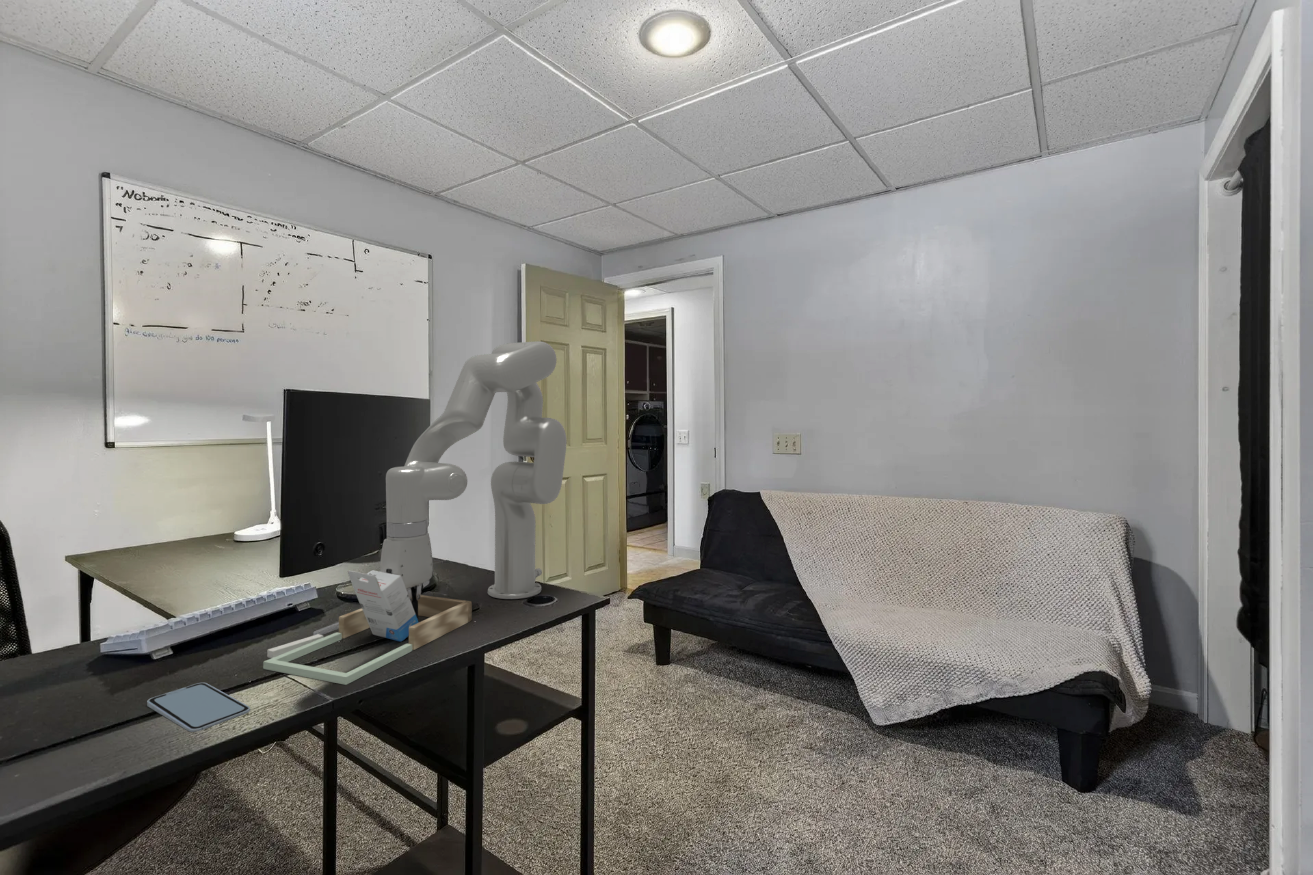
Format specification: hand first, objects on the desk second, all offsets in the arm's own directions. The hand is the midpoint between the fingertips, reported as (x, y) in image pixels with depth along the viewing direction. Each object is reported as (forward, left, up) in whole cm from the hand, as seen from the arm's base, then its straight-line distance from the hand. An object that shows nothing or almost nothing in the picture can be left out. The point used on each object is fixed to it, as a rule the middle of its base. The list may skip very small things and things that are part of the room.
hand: (409, 620), depth 119 cm
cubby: (0, 0, -2) cm, 2 cm away
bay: (+16, 0, -2) cm, 16 cm away
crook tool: (+4, -11, -2) cm, 12 cm away
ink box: (+3, 0, -1) cm, 4 cm away
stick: (+16, -11, -2) cm, 19 cm away
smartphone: (+37, -5, -2) cm, 37 cm away
